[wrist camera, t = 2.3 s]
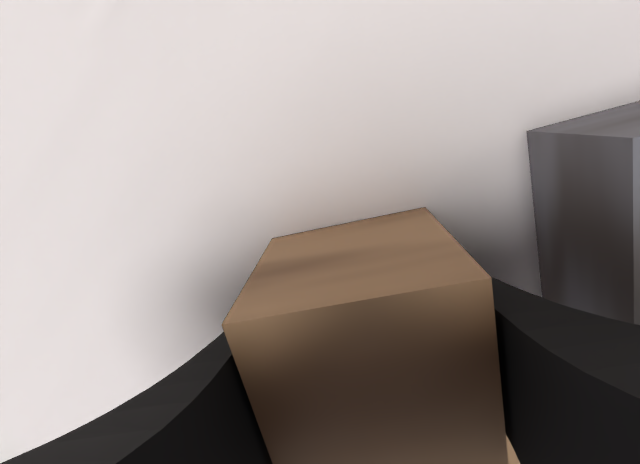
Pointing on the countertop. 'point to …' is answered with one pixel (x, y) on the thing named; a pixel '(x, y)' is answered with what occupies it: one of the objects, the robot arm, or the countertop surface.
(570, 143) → the charcoal base block
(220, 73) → the countertop surface
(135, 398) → the robot arm
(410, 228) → the walnut cube
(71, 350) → the countertop surface
